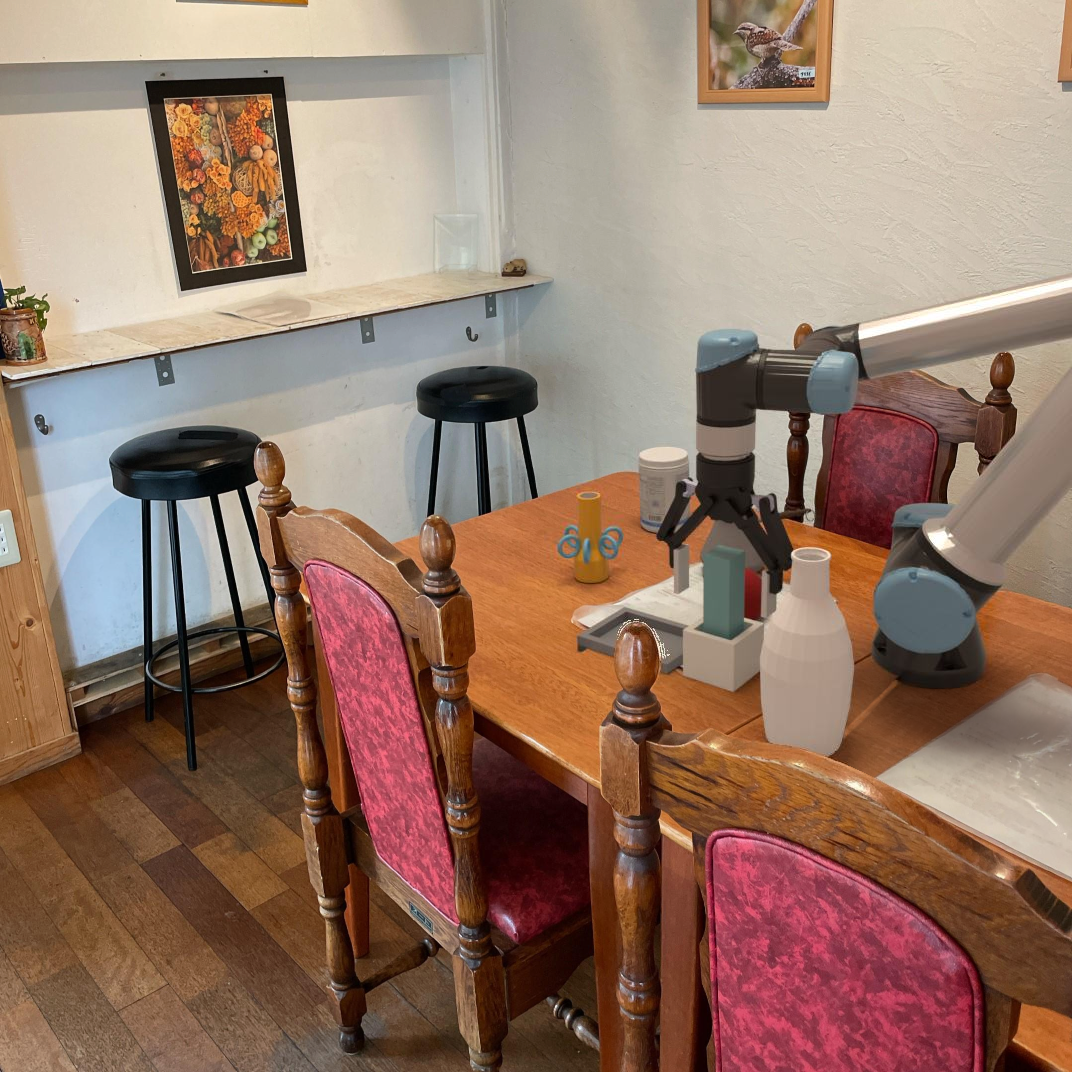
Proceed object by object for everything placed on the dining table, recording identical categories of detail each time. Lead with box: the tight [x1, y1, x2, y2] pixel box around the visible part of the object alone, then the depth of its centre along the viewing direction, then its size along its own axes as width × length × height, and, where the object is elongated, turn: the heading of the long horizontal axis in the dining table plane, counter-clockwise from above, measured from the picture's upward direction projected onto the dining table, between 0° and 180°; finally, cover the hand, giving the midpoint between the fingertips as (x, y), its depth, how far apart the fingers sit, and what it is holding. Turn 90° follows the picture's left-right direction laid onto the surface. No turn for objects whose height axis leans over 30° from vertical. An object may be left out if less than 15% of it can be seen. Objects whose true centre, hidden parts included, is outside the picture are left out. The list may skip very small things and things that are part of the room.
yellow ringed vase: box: [557, 491, 624, 584], centre depth 181 cm, size 12×10×15 cm
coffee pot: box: [699, 508, 816, 573], centre depth 177 cm, size 21×12×15 cm, turn 41°
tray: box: [576, 606, 689, 675], centre depth 158 cm, size 16×12×2 cm
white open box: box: [682, 616, 765, 693], centre depth 147 cm, size 8×8×8 cm
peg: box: [702, 545, 745, 640], centre depth 145 cm, size 4×4×18 cm
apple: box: [744, 568, 762, 621], centre depth 164 cm, size 9×9×10 cm
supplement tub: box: [638, 446, 691, 534], centre depth 203 cm, size 10×10×15 cm
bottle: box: [759, 546, 855, 758], centre depth 128 cm, size 11×11×25 cm
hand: (723, 602), depth 144 cm, fingers open, 13 cm apart
